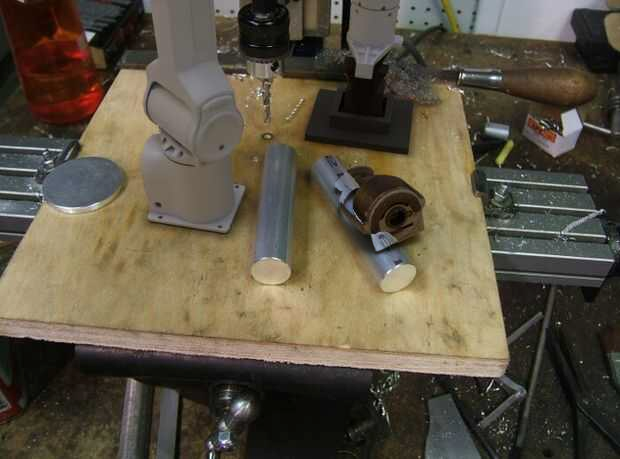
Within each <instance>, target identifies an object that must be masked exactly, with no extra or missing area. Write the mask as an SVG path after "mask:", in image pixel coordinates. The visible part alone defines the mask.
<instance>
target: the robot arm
mask: <svg viewBox="0 0 620 459" xmlns="http://www.w3.org/2000/svg"><path fill="white" fill-rule="evenodd" d="M149 3H150V4H149V5H150V11H151V18H152V24H153V31H154V32H153V33H154V38H155V44H156V51H157V52H156V53H157V58H156V59H154V60H153V61H151V62H150V63H149V64H148V65H147V66H146V67H145V73H146V86H145V90H144V93H143V98H142V107H143V112H144V114H145V116H146V118H147V119H148V120H149V121H150V122H151V123H153V124H154V125H155V126H157V127H158V128H157V129H158V132H159V133H152V134H150V136H148V137H147V139H146V141H145V143H144V145H143V149H142V152H141V159H140V173H141V178H142V183H143V187H144V192H145V196H146V201H147V205H148V209H149V213H148V214H147V220H148V221H149V222H155V223H159V224H166V225H172V226H178V227H185V228H191V229H197V230H202V231H203V230H204V231H210V232H215V233H223V234H226V233H229V232H230V228H231V226H232V224H233V222H234V219H235V217H236V215H237V211H238V210H239V207H240V205H241V202H242V199H243V197H244V195H245V193H246V186H245V185H243V184H237V183H235V181H234V180H235V179H234V169H233V168H234V167H233V157H232V156H233V155H232V153H234V151H235V149H236V148H237V147H238V145H239V143H240V142H241V139H242V136H243V134H244V128H245V122H244V121H245V120H244V117H243V115H242V113H241V111H240V110H239V108H238V106H237V103H236V96H235V95H236V93H235V89H234V87H233V86H232V84H231V82H230V80H229V79H228V77H227V75H226V73H225V71H224V70H223V68H222V66H221V65H220V63H219V58H218V55H219V54H218V40H217V26H216V16H215V15H216V13H215V0H149ZM400 3H401V0H351V3H350V4H351V6H350V15H349V28H348V31H347V32H346V42H347V44H348V47H349V49H350V51H351V53H352V56H345V57H344V60H343V70H344V73H345V74H346V76H347V79H349V82H350V86H351V93H352V102H353V107H354V109H358V110H365V111H369V109H370V107H371V105H372V102H373V99H374V96H375V93H376V91H377V88H378V86H379V84H380V83H381V81H382V80H383V79H386V77H387V74H388V73H389V71H390V64H387V63H384V62H385V60H386V59H387V57H388V55H389V54H390V52H391V51H392V50H393V49H394V48H398V49H399V48H402V47H403V45H404V44H403V43H404V36H402V35H400V34H396V28H397V21H398V15H399V8H400Z"/></svg>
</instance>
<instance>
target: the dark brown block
mask: <svg viewBox="0 0 620 459" xmlns="http://www.w3.org/2000/svg"><path fill="white" fill-rule="evenodd" d="M347 79H348V78H347ZM386 83H387V78H384V79H383V80H382V81H381V83H380V84H379V86H378V88H377V91H376V93H375V96H374V99H373V102H372V105H371V107H370V109H369V111H365V110H358V109H354V107H353V102H352V93H351V86H350V82H349V79H348V80H347V84H346V86H345V88H346V93H345V104H344V113H351V114H358V115H366V116H373V117H380V115H381V109H382V103H383V97H384V93H385V89H386Z"/></svg>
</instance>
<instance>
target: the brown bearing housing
mask: <svg viewBox="0 0 620 459" xmlns="http://www.w3.org/2000/svg"><path fill="white" fill-rule="evenodd" d="M346 170H347V172H348V173H349V174H350V175H351V176H352V177H353V178H354V179H355V181H356V182H357V183H358V184H359V186H360V188H359V189H357V190H356V192H355V194H354V197H353V200H352V211H353V210H354V212H355V213H356V215H357V216H358V218H359V219H360V220H361V222H362V223H363V224H362V223H361V222H360V221H359V220H358V219H357V218H356V217H355V215H354V212H351V211H350V210H349V209H348V207H346V206H345V204H342V202H341V203H339V202H338V205H339V204H340V207H339V209H340V208H341V209H340V211H341V210H342V211H341V213H342V212H343V213H344V214H345V215H344V214H343V213H342V214H343V215H344V216H345V217H346V218H347V219H348V220H349V221H350V222H351V223H352V225H354V227H356V228H357V230H358V231H359V232H360V233H361V234H364V235H370V234H376V233H378V232H382V231H383V232H384V231H385V232H388V233H390V234H391V235H392V236H394V237H395V238H396V239H397V240H398V241H399V242H398V243H400V242H402V241H404V240H406V239H409V238H411V237H413V236H415V235H417V234H419V233H422V232H423V231H425V229H426V227H425V221H424V215H423V208H425V207H426V198H425V197H424V195H423V194H422V193H420V191H418V190H417V189H416V188H414V187H413V186H412V185H410V184H409V183H408V182H406V181H405V180H404V179H403V178H402V177H399V176H396V175H391V174H384V173H383V174H382V173H381V174H375V170H374V169H373V168H372V167H370V166H365V165H358V166H354V167H353V166H352V167H350V168H348V169H346Z"/></svg>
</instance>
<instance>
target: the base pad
mask: <svg viewBox="0 0 620 459" xmlns="http://www.w3.org/2000/svg"><path fill="white" fill-rule="evenodd" d="M317 92H318V93H317V95H316V97H315V101H314V104H313V107H312V111H311V112H310V116H309V119H308V123H307V126H306V128H305V131H304V141H307V142H315V143H323V144H329V145H330V144H331V145H336V146H337V145H338V146H344V147H352V148H358V149H366V150H370V151H371V150H372V151H379V152H386V153H393V154H401V155H408V154H409V151H410V142H411V141H410V140H411V134H412V133H411V130H412V122H413V110H414V100H410V99H404V98H396V97H395V94H393V93H385V92H384V97H383V103H382V109H381V115H380V117H373V116H366V115H358V114H351V113H344V104H345V93H346V87H337V89H336V90H335V89H327V88H319V89H318V91H317Z"/></svg>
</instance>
